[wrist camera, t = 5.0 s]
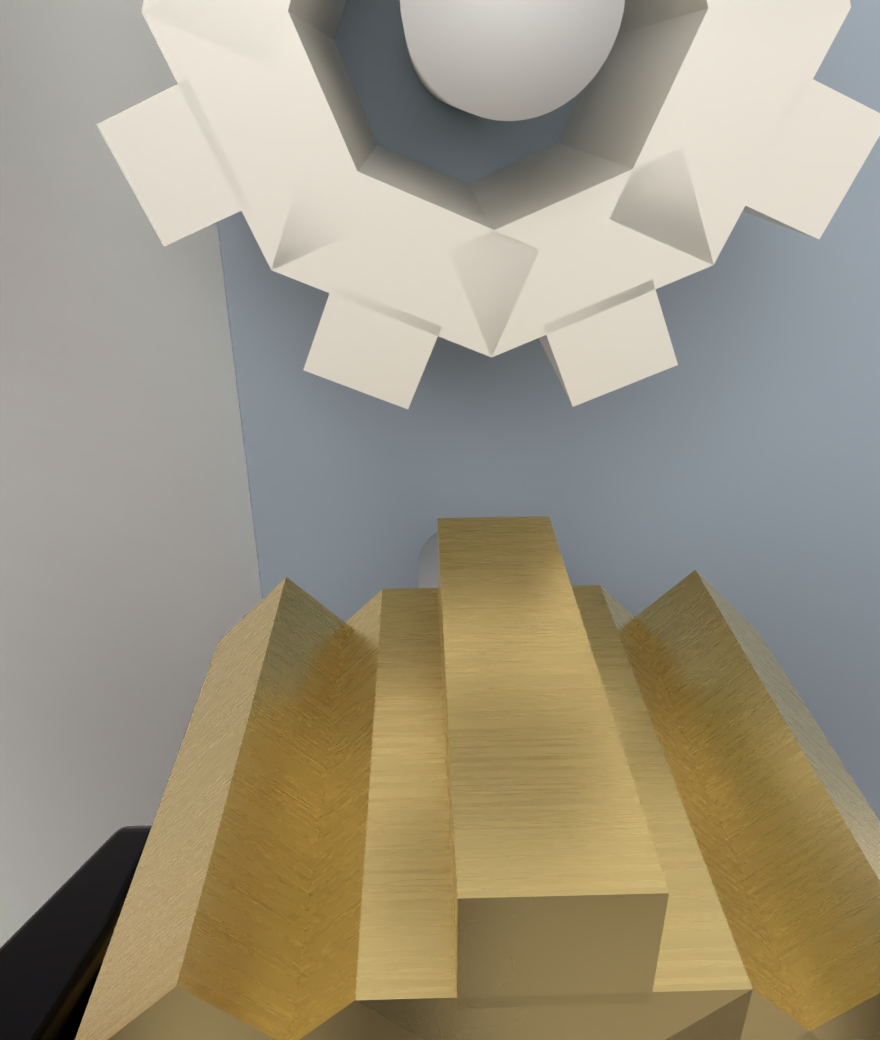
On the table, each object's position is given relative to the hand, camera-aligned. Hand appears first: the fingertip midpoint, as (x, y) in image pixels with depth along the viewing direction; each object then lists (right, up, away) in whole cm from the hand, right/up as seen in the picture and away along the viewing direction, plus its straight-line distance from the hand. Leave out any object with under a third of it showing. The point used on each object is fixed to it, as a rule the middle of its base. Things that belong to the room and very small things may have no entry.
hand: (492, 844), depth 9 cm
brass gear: (0, 0, +1) cm, 1 cm away
